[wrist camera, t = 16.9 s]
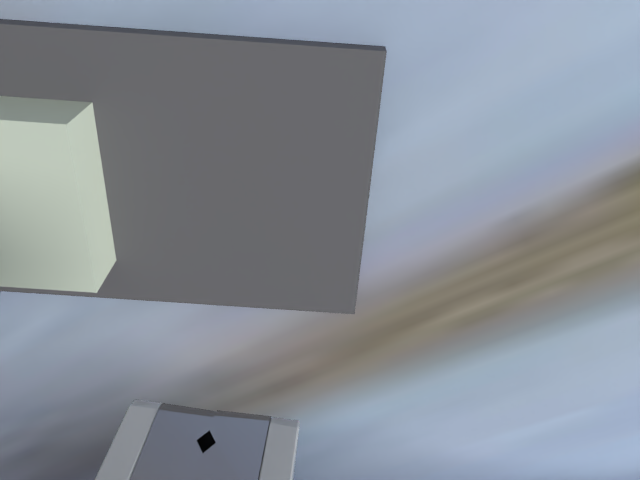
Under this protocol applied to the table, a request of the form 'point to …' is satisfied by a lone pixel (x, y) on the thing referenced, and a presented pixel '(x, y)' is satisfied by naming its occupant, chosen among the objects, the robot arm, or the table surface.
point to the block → (52, 197)
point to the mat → (218, 157)
